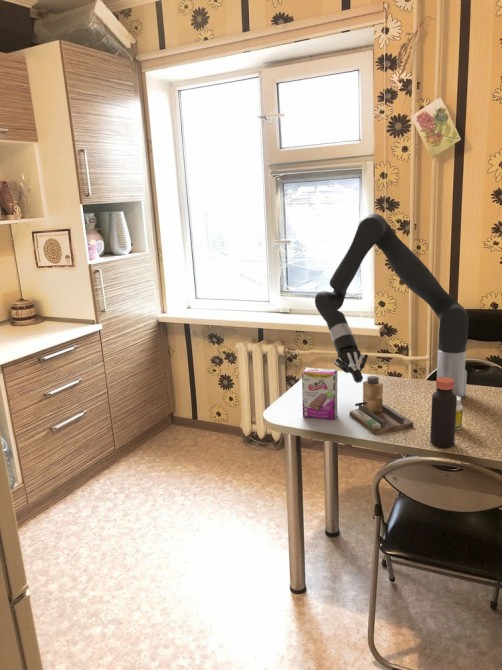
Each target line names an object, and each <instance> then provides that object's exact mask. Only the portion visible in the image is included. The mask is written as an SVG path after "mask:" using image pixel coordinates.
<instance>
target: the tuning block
mask: <svg viewBox="0 0 502 670" xmlns="http://www.w3.org/2000/svg"><path fill="white" fill-rule="evenodd" d="M379 379H380V378H379V376H375V375H369V376H368V377H367V380H366V381H363V382H362V402H357V403H355V405H354V406H355V407H359V405H362V406H364V407H365V408H367V409H368V410H370V411H371V412H372V413H377V412H382V404H383V402H384V401H383V400H384V399H383V398H384V396H383V395H384V389H383V388H384V387H383V386H384V383H383V382H382V381H380V380H379Z"/></svg>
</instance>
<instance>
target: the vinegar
mask: <svg viewBox="0 0 502 670" xmlns="http://www.w3.org/2000/svg"><path fill="white" fill-rule="evenodd" d="M435 379H436V382H435V391H434V392H433V393H432V395H431V414H430V415H431V417H430V435H429V436H430V439H429V441H430V444H431V445H433V446H434V447H437V448H442V449H447V448H448V449H449V448H452V447H453V446H455V442H456V441H455V437H456V430H455V423H456V405H457V397H456V395H455V394H454V393H453V389H454V380H453V379H452V378H448V377H440V378H437V377H436V378H435ZM436 389H437V391H436Z"/></svg>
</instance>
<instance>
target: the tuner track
mask: <svg viewBox="0 0 502 670" xmlns="http://www.w3.org/2000/svg"><path fill="white" fill-rule="evenodd" d="M349 417H350V418H352V419H353V420H355V422H357V423H358V424H359V425H361V426H362V427H363V428H365V429H367V430H368V431H369V432H370V433H372V434H373V435H374V436H377V435H381V434H385V433H390V432H395V431H400V430H404V429H405V430H406V429H410V428H414V421H412V420H410V419H409V418H407V417H406V416H404V415H403V414H402V413H400V412H398V411H396V410H394V408H392V407H390V406H389V405H387V404H382V412H377V413H372V412H371V411H370V410H368V409H367V408H365V407H364V406H363V405H359V406H358V408H353V409H351V411H349Z"/></svg>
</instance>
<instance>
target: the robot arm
mask: <svg viewBox="0 0 502 670" xmlns="http://www.w3.org/2000/svg"><path fill="white" fill-rule="evenodd" d="M374 246H376V247H377V248H378V249H380V250H381V252H382V253H383V254H384V256H385V257H386V259H387V261H388V262H389V265H390V266H391V269H392V270H393V271H394V273H395V274H396V276H397V277H398V278H399V279H400V280H401V282H402V283H403V284H404V285H405V286H406V287H407V288H408V289H409V290H410V291H411V292H412V293H414V294H415V295H416V296H418V297H419V298H420V299H422V300H423V301H424V302H426V303H427V305H428V306H429V307H430V308H431V309H432V311H433V312H434V314H435V315H436V316H437V317H438V320H439V328H438V329H439V333H438V342H437V343H438V345H437V366H436V367H437V368H436V379H437V378H440V377H448V378H452V379H453V380H454V389H453V393H454V394H455V395H456V396H458V397H460V398H461V399H462V398H464V397H465V396H466V395H467V376H468V371H467V369H466V355H467V354H466V353H467V352H466V351H467V344H468V335H469V334H468V333H469V316H468V313H467V311H466V309H465V307H464V306H462V305H461V304H460V303H459V302H458V301H457V300H455V299H454V298H453V297H452V296H451V295H450V294H449V293H448V292H447V291H446V290H445V289H444V288H443V287H442V286H441V284H440V283H439V281H438V280H437V278H436V277H435V275H433V273H432V272H431V271H430V269H429V268H428V267H427V265H425V263H423V261H422V260H421V259H420V258H419V257H418V256H417V255H416V254H415V253H414V252H413V251H412V250H411V249H410V248H409V247H408V246H407V245H406V244H405V243H404V242H403V241H402V240H401V239H400V238H399V237H398V235H397V234H396V233H395V231H394V230H393V228H392V227H391V226H390V224H389V223H388V222H387V220H386V219H385V218H384V217H383V216H382V215H381V214H378V213H369V214H367V215H365V216H364V217H363V218H362V219H361V220H360V221H359V223H358V226H357V229H356V231H355V234H354V236H353V239H352V241H351V244H350V246H349V248H348V250H347V252H346V254H345V255H344V257H343V258H342V260H341V261H340V263H339V265H338V266H337V268H336V269H335V271H334V273H333V275H332V276H331V278H330V279H329V285H330V287H331V289H333V290H332V291H326V290H324V291H323V290H322V291H319V292H318V293H316V295H315V298H314V303H315V304H314V305H315V307H316V310H317V311H318V313H319V314H320V316H321V317H322V319H323V320H324V321H325V322H326V325H327V328H328V330H329V333H330V338H331V341H332V343H333V345H334V349H335V351H336V354H337V357H338V358H336V359H335V361H334V362H333V364H334V365H335V366H336V367H338V368H339V369H340V370H342V371H343V372H344V373H346V374H348V373H349V374H351V375H352V376H351V377H352V378H353V381H354V382H355V383H357V384H359V383H362V381H363V379H364V377H363V375H362V370H363V369H364V368H365V366H366V363H367V360H368V357H369V356H368V354H363V353H362V352H361V351H360V350H359V347H358V344H357V342H356V340H355V336H354V334H353V331H352V329H351V328H350V326H349V324H348V320H347V319H346V316H345V314H344V312H342V311H339V310H340V309H341V308H342V306H343V305H344V301H345V298H346V295H347V291H348V288H349V287H350V285H351V283H352V282H353V280H354V278H355V277H356V275H357V273H358V271H359V268H360V266H361V265H362V263H363V262H364V259H365V257H366V256H367V255H368V253H369V251H370V250H371V249H372V248H373V247H374ZM436 391H437V389H436V388H435V392H436Z"/></svg>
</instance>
